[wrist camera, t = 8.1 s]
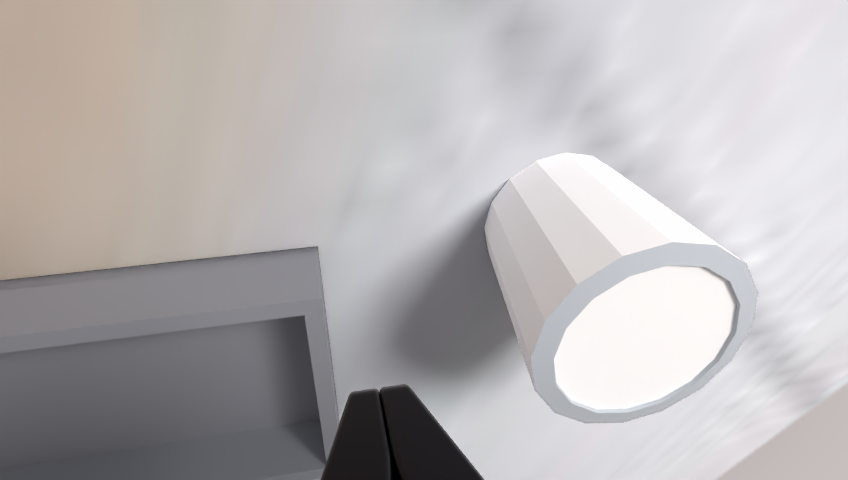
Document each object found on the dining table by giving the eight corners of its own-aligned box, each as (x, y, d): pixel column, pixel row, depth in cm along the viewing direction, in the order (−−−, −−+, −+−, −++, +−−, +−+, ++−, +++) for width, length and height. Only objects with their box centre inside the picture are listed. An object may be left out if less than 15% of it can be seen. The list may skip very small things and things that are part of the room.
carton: (338, 415, 26) (343, 474, 23) (-179, 494, 23) (-236, 572, 20) (317, 246, 21) (321, 298, 19) (-347, 318, 18) (-448, 391, 15)
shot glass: (622, 281, 25) (722, 409, 19) (464, 301, 24) (521, 443, 18) (657, 129, 21) (795, 230, 15) (472, 144, 20) (546, 259, 14)
